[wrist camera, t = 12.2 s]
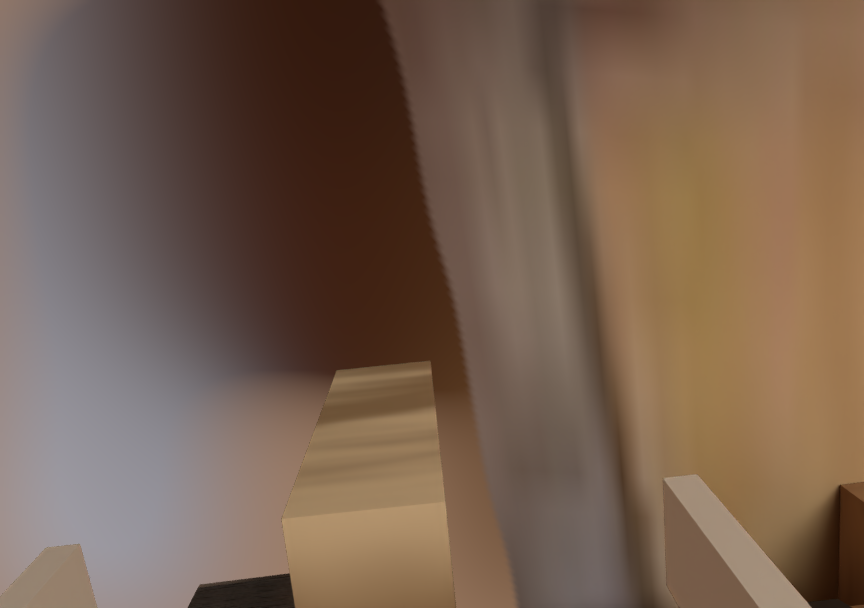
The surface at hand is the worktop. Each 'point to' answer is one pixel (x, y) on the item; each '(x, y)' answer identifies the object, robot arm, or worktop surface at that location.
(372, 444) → the tan wood-grain block
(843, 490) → the brown wooden stand
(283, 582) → the brown square block
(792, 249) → the worktop surface
